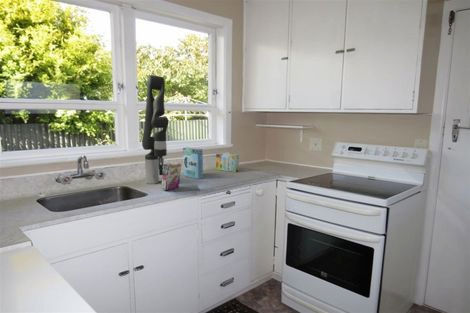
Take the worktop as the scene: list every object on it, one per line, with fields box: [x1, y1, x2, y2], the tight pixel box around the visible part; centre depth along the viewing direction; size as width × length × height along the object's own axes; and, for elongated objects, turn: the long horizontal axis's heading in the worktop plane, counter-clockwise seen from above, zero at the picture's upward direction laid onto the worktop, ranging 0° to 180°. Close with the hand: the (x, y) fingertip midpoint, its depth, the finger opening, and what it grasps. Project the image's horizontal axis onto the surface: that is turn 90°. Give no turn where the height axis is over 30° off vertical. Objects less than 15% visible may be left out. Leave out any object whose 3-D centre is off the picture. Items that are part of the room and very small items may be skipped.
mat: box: [173, 184, 201, 193], centre depth 204 cm, size 15×16×1 cm
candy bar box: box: [160, 162, 182, 191], centre depth 199 cm, size 11×5×16 cm, turn 142°
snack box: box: [215, 152, 240, 173], centre depth 270 cm, size 21×6×15 cm, turn 58°
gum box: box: [182, 146, 204, 180], centre depth 241 cm, size 20×5×23 cm, turn 45°
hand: (160, 175), depth 197 cm, fingers closed
